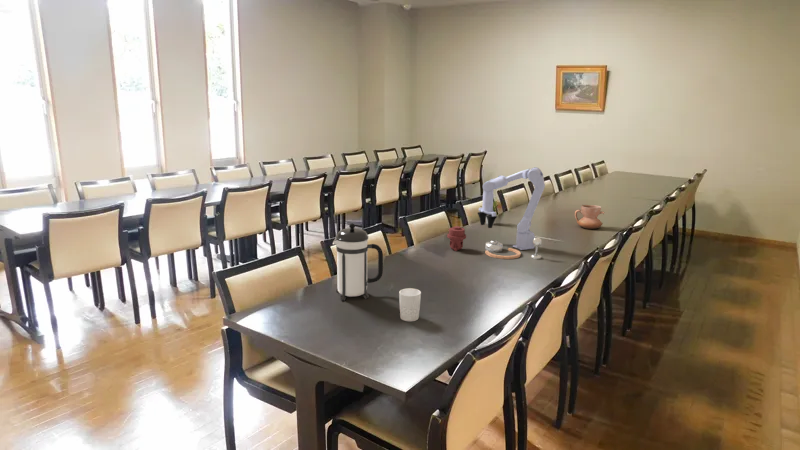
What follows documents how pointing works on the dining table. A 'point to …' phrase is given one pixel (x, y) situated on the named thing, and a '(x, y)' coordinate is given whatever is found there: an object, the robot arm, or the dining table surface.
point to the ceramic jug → (589, 216)
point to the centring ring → (505, 256)
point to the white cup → (409, 304)
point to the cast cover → (493, 246)
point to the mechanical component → (456, 237)
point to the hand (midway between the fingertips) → (486, 226)
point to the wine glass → (537, 243)
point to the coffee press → (354, 262)
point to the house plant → (493, 210)
